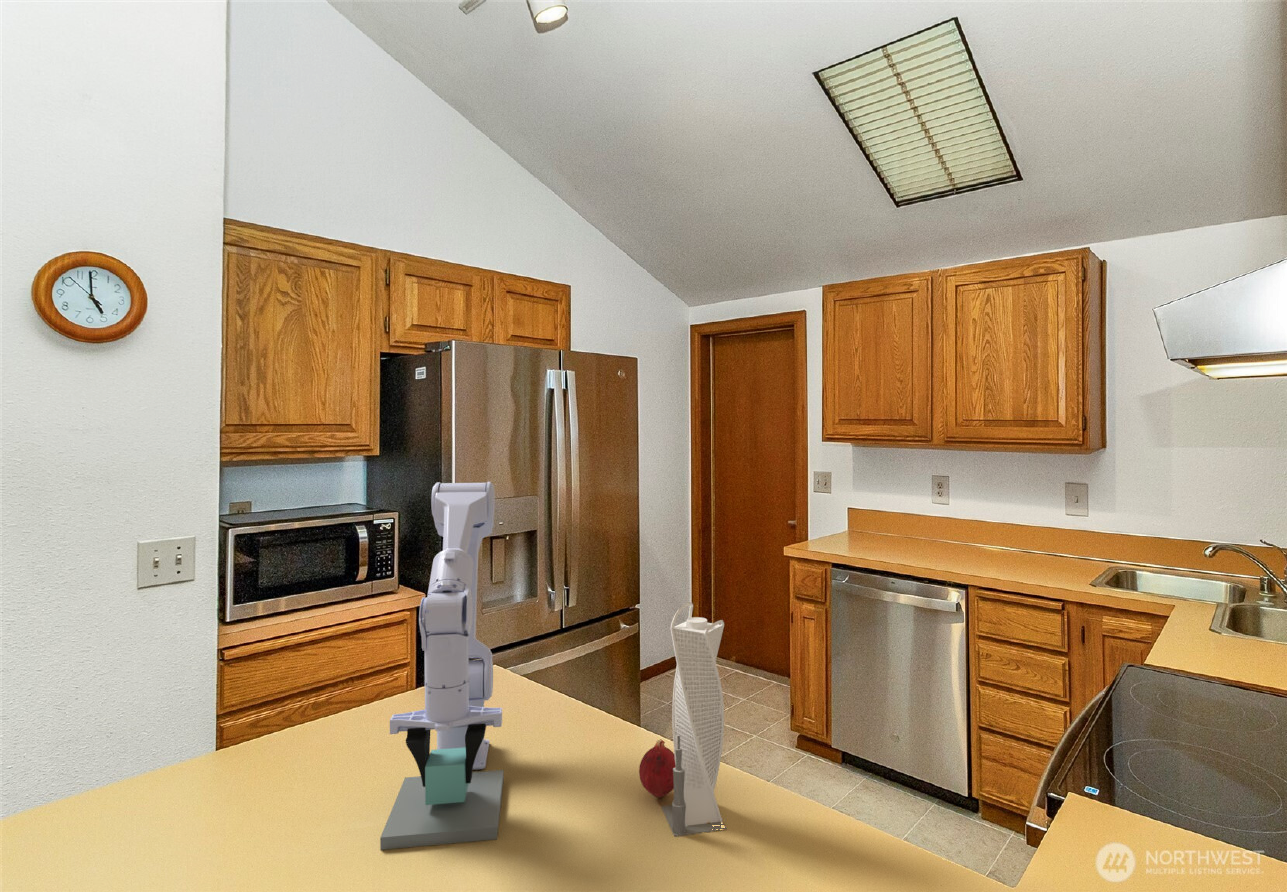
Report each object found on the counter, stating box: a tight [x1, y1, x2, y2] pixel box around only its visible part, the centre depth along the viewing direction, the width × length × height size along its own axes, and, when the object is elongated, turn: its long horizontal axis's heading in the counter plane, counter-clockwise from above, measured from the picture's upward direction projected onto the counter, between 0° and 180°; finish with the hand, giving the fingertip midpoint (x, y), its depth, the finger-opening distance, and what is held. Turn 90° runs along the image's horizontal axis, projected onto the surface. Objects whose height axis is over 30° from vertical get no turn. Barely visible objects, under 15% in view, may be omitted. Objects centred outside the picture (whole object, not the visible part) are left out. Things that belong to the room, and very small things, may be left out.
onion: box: [638, 738, 676, 799], centre depth 94 cm, size 6×6×8 cm
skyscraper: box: [661, 602, 728, 838], centre depth 90 cm, size 8×8×28 cm
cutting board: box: [379, 769, 505, 851], centre depth 91 cm, size 15×14×2 cm
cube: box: [425, 747, 469, 805], centre depth 91 cm, size 5×5×5 cm
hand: (447, 781), depth 91 cm, fingers closed on cube, 5 cm apart
